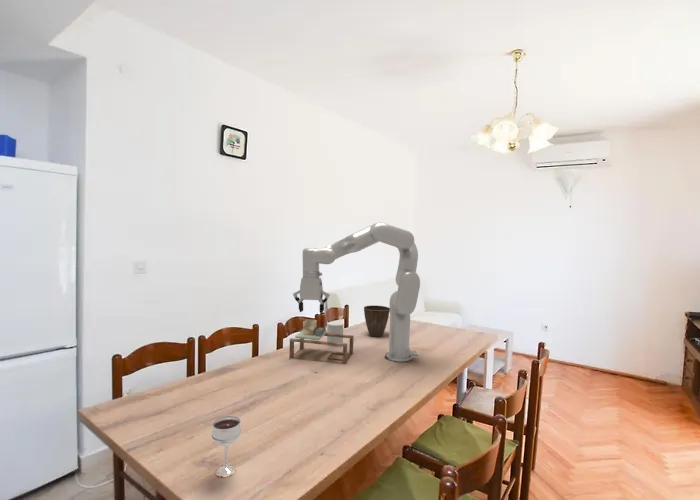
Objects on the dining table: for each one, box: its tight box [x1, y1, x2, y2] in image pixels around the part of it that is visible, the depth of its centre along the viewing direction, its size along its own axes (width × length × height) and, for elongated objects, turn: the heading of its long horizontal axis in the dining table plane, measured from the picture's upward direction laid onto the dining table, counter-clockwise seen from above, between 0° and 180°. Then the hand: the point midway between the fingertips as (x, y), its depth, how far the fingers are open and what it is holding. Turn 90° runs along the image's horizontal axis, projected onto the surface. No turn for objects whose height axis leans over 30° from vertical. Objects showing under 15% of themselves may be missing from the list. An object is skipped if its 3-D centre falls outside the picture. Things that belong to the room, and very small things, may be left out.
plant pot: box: [363, 305, 390, 338], centre depth 216 cm, size 15×15×16 cm
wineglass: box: [211, 415, 242, 474], centre depth 91 cm, size 7×7×12 cm
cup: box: [326, 321, 344, 347], centre depth 193 cm, size 8×8×12 cm
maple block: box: [302, 318, 318, 336], centre depth 175 cm, size 5×5×6 cm
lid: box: [294, 327, 327, 341], centre depth 175 cm, size 11×11×4 cm
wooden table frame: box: [288, 330, 355, 365], centre depth 174 cm, size 26×15×10 cm, turn 78°
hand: (311, 311), depth 175 cm, fingers open, 9 cm apart
